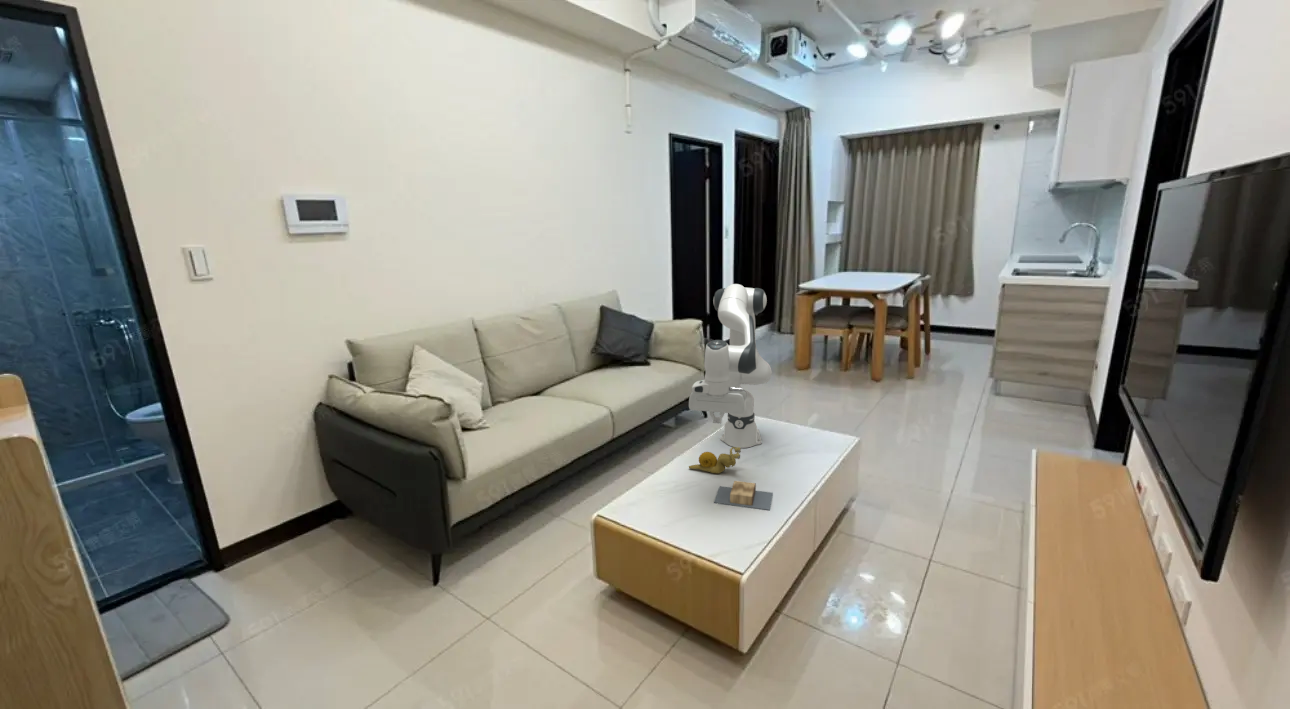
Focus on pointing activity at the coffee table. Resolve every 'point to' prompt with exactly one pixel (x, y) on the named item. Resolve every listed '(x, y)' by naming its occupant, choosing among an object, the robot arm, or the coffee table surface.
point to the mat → (760, 502)
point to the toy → (716, 461)
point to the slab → (743, 493)
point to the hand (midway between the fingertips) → (717, 422)
